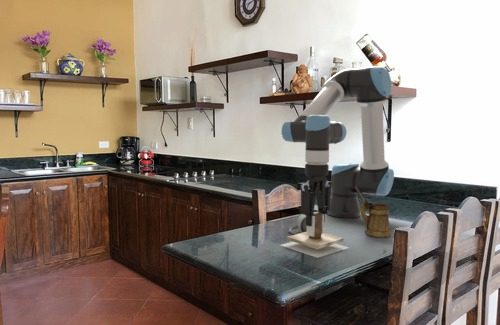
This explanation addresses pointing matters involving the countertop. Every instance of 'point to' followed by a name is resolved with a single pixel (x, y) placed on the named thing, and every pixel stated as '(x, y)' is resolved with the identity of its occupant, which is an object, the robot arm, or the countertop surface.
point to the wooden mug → (375, 218)
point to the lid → (315, 236)
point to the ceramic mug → (299, 225)
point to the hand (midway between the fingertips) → (315, 234)
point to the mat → (314, 251)
